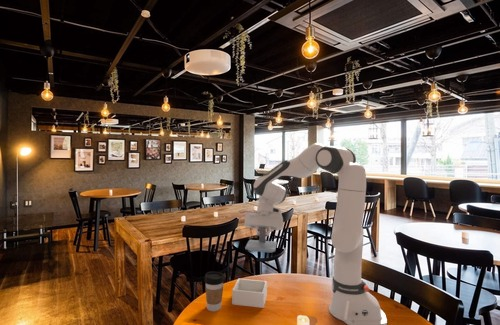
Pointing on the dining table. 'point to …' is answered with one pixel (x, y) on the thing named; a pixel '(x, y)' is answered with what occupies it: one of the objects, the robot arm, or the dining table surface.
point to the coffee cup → (214, 290)
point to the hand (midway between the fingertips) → (262, 235)
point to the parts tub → (249, 293)
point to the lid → (261, 243)
